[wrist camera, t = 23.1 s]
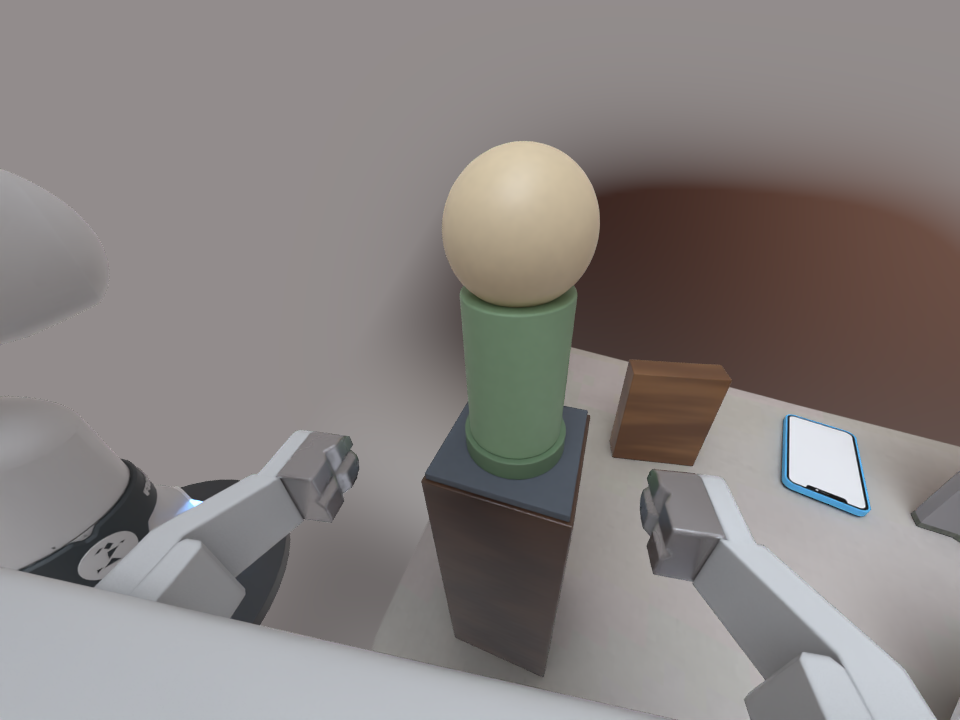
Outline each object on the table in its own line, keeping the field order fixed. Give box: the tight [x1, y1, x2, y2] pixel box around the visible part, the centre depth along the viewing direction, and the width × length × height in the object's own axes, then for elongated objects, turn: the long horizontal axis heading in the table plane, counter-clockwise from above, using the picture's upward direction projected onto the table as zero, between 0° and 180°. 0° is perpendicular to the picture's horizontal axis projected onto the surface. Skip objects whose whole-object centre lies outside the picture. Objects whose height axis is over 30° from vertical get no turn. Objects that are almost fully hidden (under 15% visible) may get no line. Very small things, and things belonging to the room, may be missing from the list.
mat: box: [425, 402, 588, 522], centre depth 20 cm, size 8×8×1 cm
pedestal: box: [422, 415, 590, 677], centre depth 26 cm, size 8×8×22 cm
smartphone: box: [782, 415, 871, 516], centre depth 44 cm, size 8×1×15 cm
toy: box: [442, 141, 600, 480], centre depth 16 cm, size 13×6×13 cm
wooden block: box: [610, 360, 732, 466], centre depth 43 cm, size 3×10×14 cm, turn 80°
